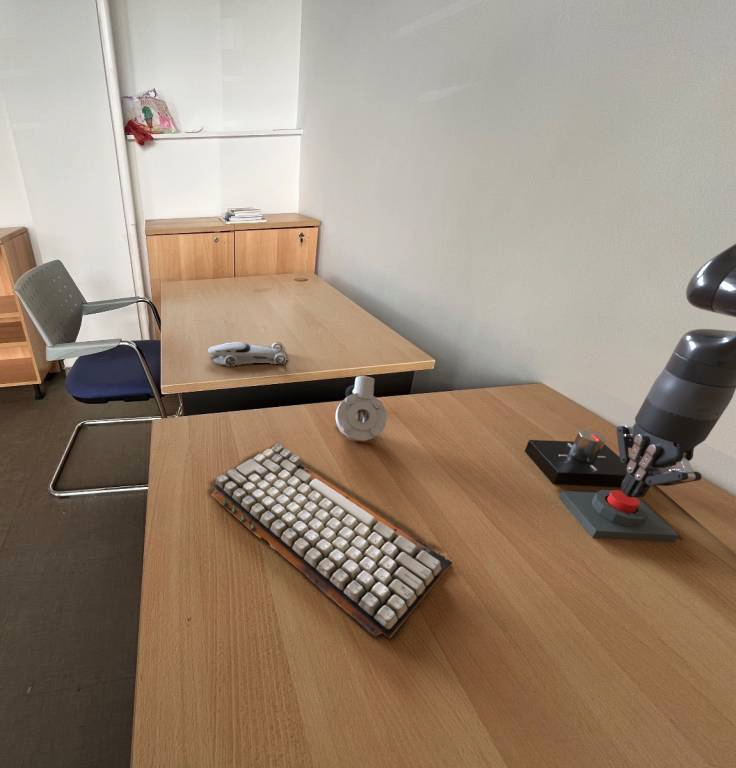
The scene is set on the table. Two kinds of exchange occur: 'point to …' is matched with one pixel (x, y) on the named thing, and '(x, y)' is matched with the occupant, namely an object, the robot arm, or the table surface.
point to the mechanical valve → (361, 411)
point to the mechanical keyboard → (332, 539)
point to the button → (622, 502)
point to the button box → (616, 518)
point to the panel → (576, 465)
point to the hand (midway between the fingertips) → (629, 493)
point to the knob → (587, 446)
